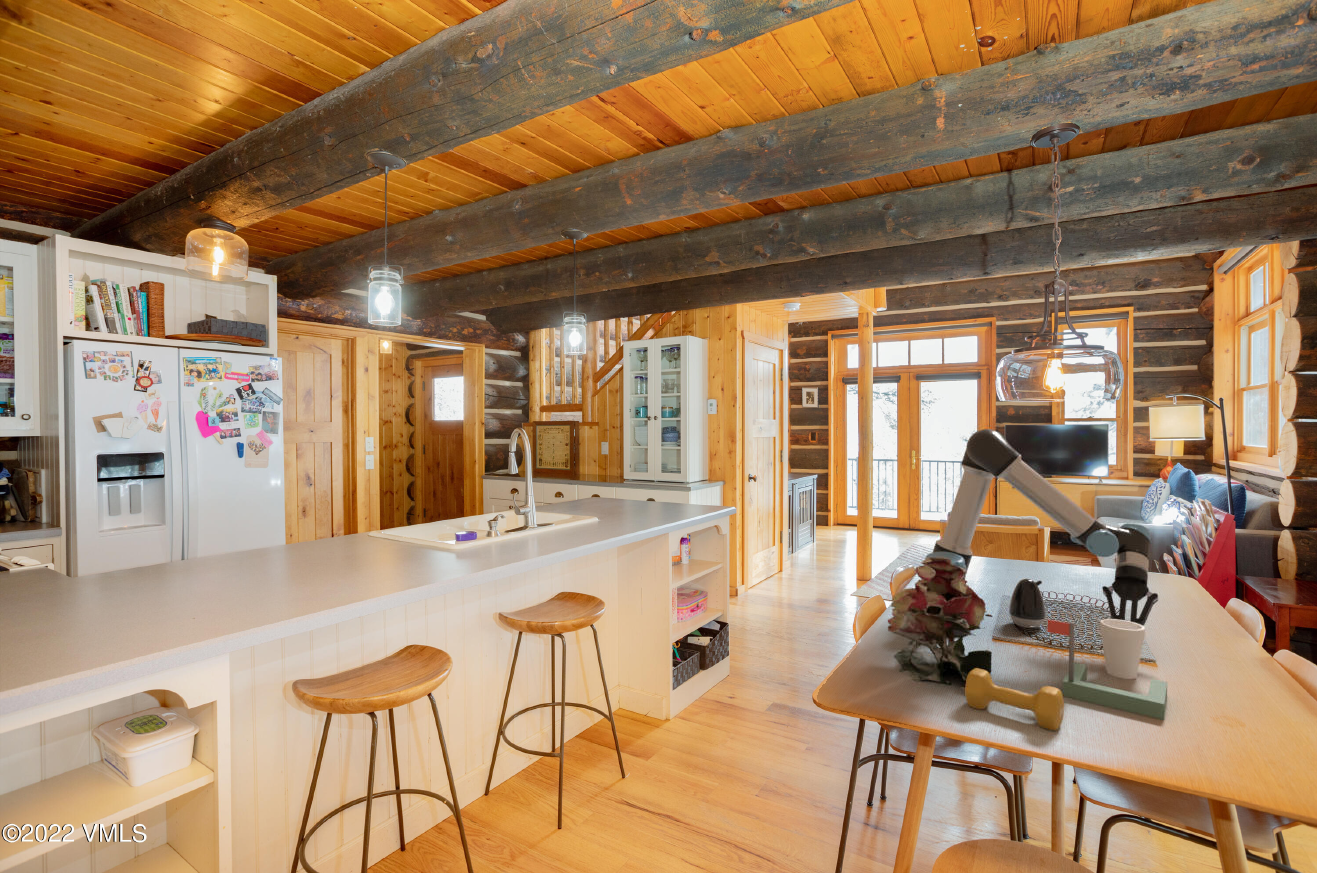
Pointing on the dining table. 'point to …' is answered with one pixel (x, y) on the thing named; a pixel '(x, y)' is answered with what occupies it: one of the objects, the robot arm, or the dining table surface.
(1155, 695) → the putting pocket
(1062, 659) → the dining table surface
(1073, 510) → the robot arm
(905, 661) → the rose bouquet
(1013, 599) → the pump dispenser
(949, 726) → the dining table surface
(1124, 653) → the foam cup
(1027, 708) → the dumbbell
